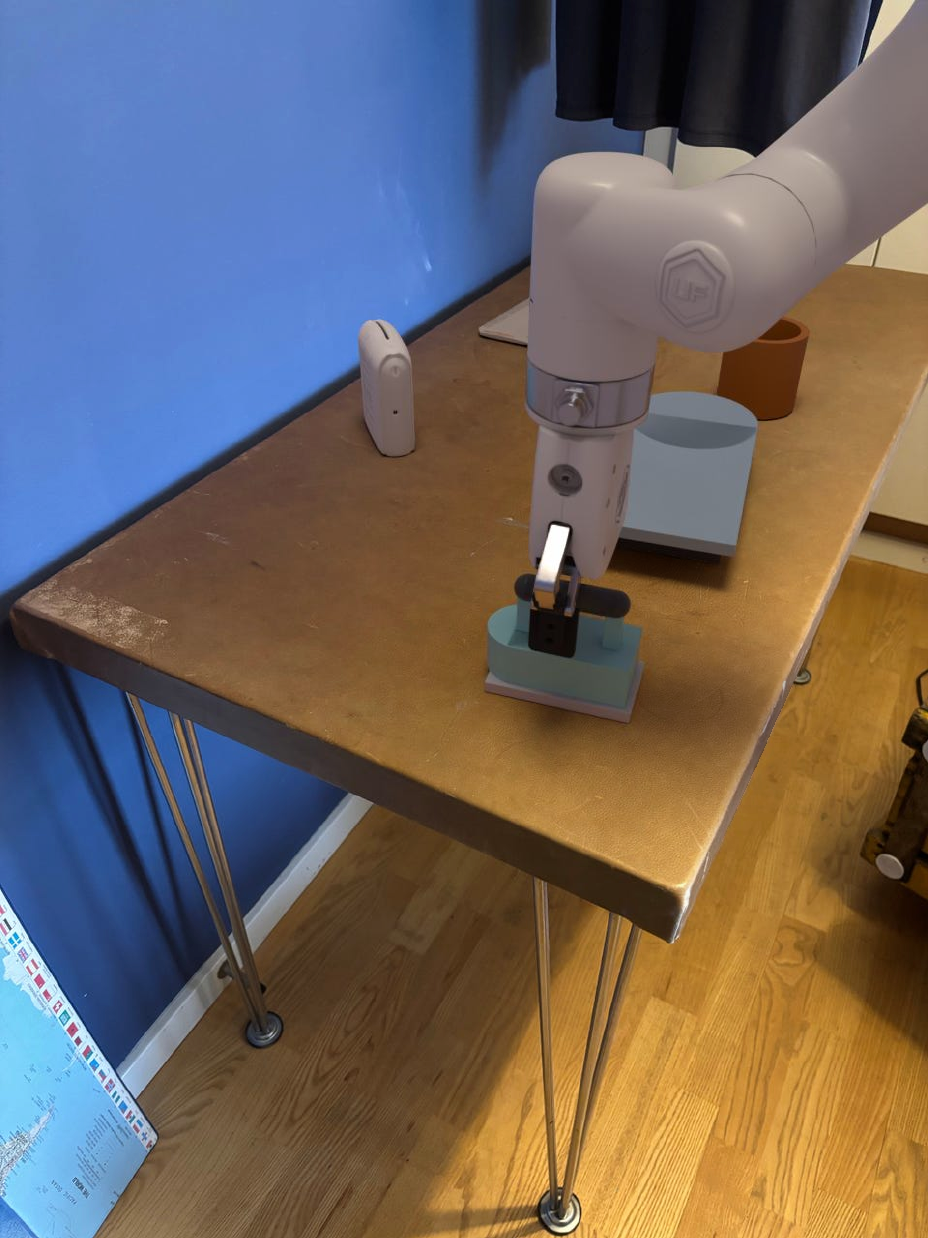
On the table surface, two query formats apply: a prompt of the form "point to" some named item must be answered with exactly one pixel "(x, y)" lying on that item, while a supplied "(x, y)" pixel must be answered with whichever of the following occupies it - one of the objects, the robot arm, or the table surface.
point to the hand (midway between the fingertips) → (568, 609)
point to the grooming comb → (509, 325)
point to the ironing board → (689, 476)
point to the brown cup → (766, 370)
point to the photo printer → (387, 387)
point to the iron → (581, 683)
